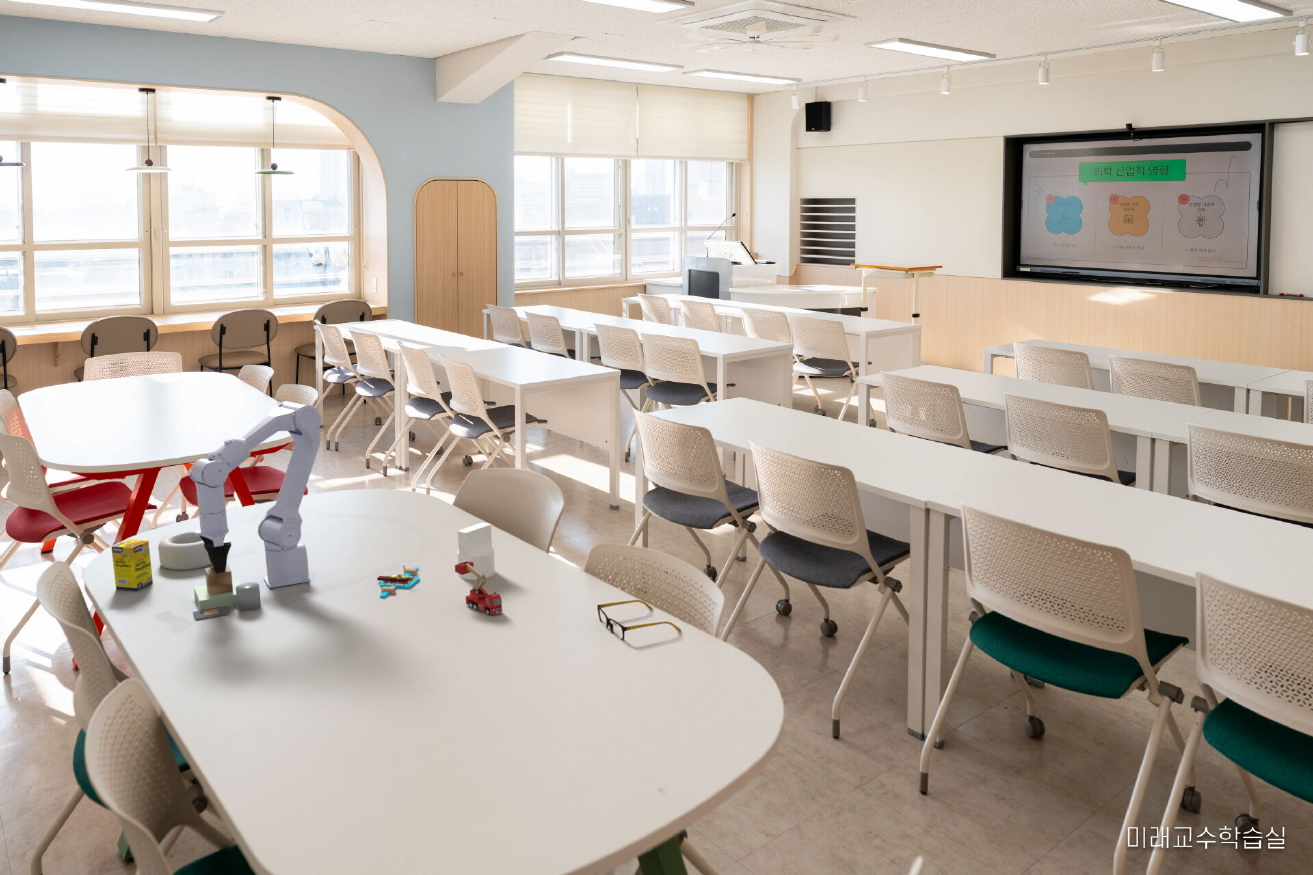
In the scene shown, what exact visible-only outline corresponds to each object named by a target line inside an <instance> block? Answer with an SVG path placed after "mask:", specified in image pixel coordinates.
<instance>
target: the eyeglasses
mask: <svg viewBox="0 0 1313 875" xmlns="http://www.w3.org/2000/svg"><path fill="white" fill-rule="evenodd" d="M632 603H641V604H643V605H644V606H645V607H647V609H649V610H653V607H652V606H650V604H648V603H647V602H645V601H644V600H641V599H640V600H639V599H634V600H626V601H625V600H624V601H616V602H609V603H608V602H607V603H601V604H596V605H597V606H596V607H597V615H598V619H599V621H600V623H603V621H602V617H601V613H602V614H603V615H604V618H605V621H606V622H605V628H606V629H608V628H609V629H610V632H611V634H613V635H614V634H615V633H614V624H613V623H615V624H616V625H618V626H619V627H620V628H621V633H622V638H620V640H621V641H624V640H625V632H627V631H633V630H637V629H642V628H646V627H651V626H659V625H663V624H668V625H671V626H672V627H673V628H674V629H675V630H676V631H677V632H681V631H682V629H681V628H680V627H679V626H677V625H675V624H674V623H672V622H670V621H658V622H651V623H650V622H649V623H645V624H644V623H643V624H636V625H631V626H624V625H622V624H621V623H619V622H618V621H616V619H615V620H614V619H612V618H609V617H608V615H607V613H606V612H605V611H604V610H603V609H604V608H608V607H614V606H619V605H625V604H632ZM611 621H612V622H611Z"/></svg>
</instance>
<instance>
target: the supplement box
mask: <svg viewBox="0 0 1313 875" xmlns="http://www.w3.org/2000/svg"><path fill="white" fill-rule="evenodd" d="M110 548H111V556H112V563H113V564H112V565H113V574H114V581H115V589H116V590H118V591H120V590H122V591H132V592H135V591H136V592H138V591H140V590H141V589H143V588H145V587H147V586H149V585H151V584H154V582H153V581H154V580H153V571H152V561H151V553H150V552H151V551H150V542H149V540H143V539H133V538H132V539H129V538H127V539H126V540H124V541H122V542H119V543H117V544H115V545H114V544H113V545H111V547H110Z"/></svg>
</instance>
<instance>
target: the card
mask: <svg viewBox="0 0 1313 875" xmlns="http://www.w3.org/2000/svg"><path fill="white" fill-rule="evenodd" d="M192 613H193V617H194V619H195V621H200V620H207V619H212V618H217V617H222V616H223V617H225V616H229V615H230V612H229V609H228V606H224V607H218V608H212V609H207V610H201V611H200V610H196V611H193V612H192Z"/></svg>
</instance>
